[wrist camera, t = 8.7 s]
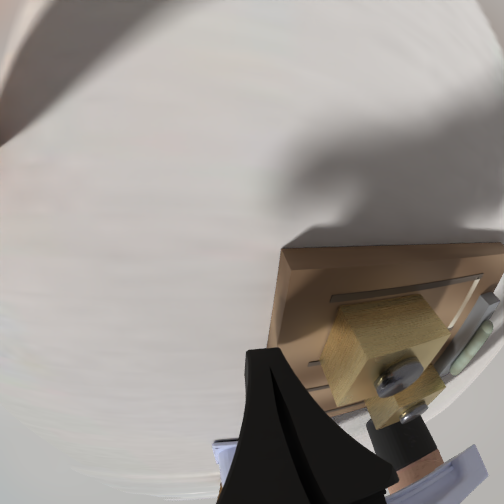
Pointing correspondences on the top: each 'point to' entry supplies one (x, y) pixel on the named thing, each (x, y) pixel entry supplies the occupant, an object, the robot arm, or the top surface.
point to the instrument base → (380, 288)
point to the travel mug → (406, 450)
